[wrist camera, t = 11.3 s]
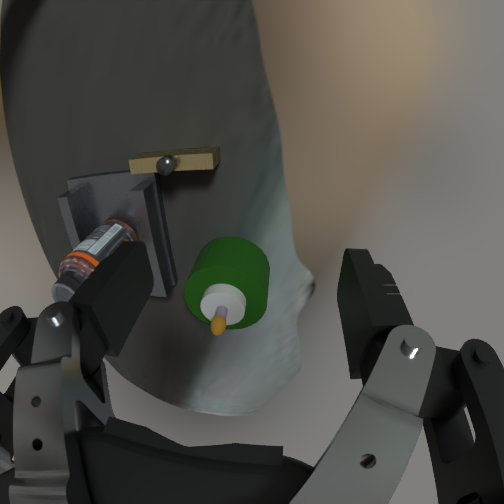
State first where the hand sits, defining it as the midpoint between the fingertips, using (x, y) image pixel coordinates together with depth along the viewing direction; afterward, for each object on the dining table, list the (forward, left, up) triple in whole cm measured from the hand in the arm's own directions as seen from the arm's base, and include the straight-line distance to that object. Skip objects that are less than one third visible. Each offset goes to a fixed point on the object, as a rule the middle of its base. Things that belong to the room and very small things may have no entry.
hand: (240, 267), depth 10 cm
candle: (+13, -4, -18) cm, 23 cm away
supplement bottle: (+9, -17, -17) cm, 26 cm away
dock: (+8, -17, -18) cm, 26 cm away
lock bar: (0, -8, -18) cm, 20 cm away
